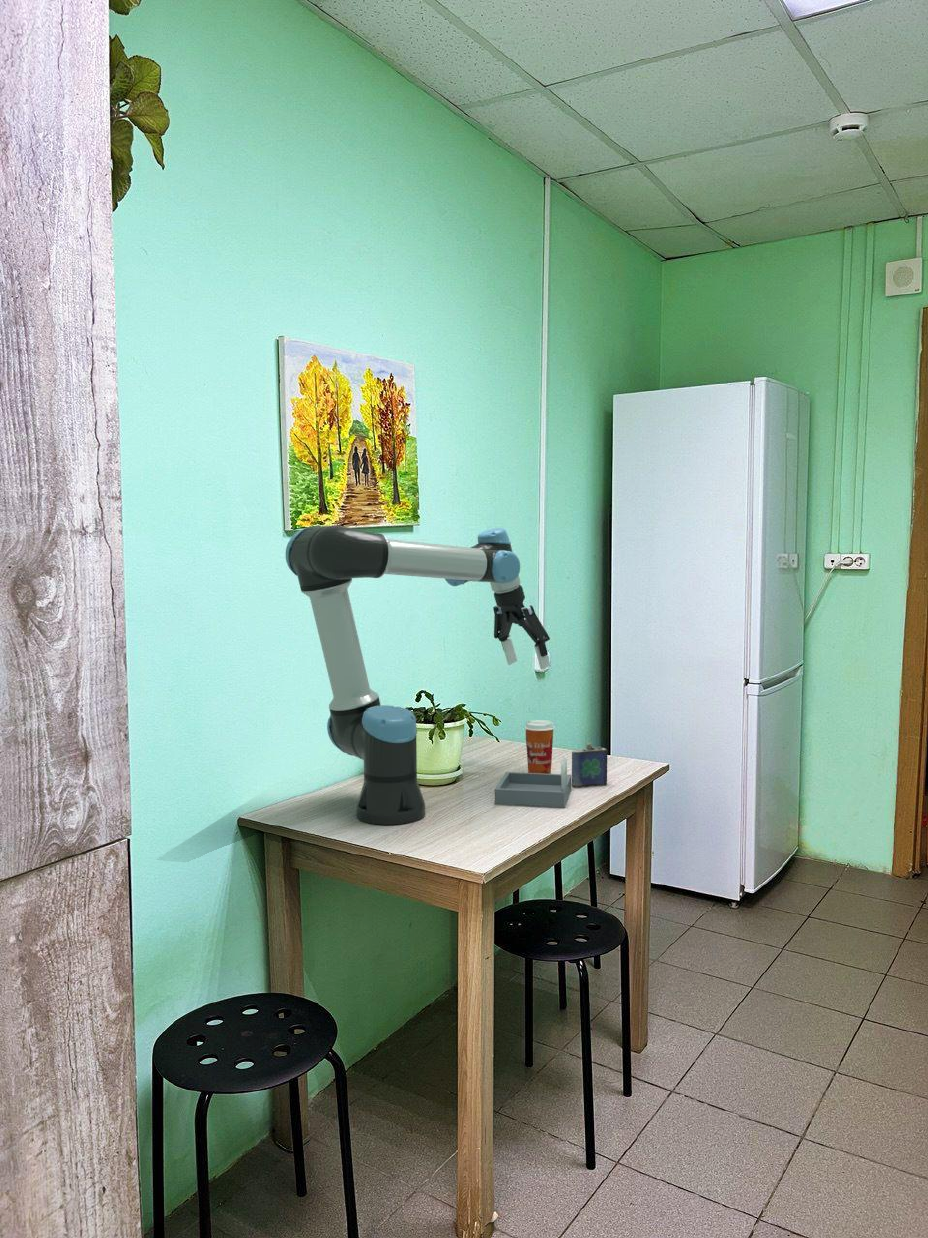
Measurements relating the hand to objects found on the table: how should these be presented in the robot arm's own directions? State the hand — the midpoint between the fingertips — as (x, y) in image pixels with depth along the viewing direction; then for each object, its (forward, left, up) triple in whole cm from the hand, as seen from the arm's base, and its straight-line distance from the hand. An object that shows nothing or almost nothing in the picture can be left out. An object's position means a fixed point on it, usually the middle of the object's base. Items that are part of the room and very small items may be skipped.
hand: (528, 665), depth 237 cm
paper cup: (+4, -6, -28) cm, 29 cm away
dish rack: (+5, -24, -28) cm, 37 cm away
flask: (+17, -12, -28) cm, 35 cm away
